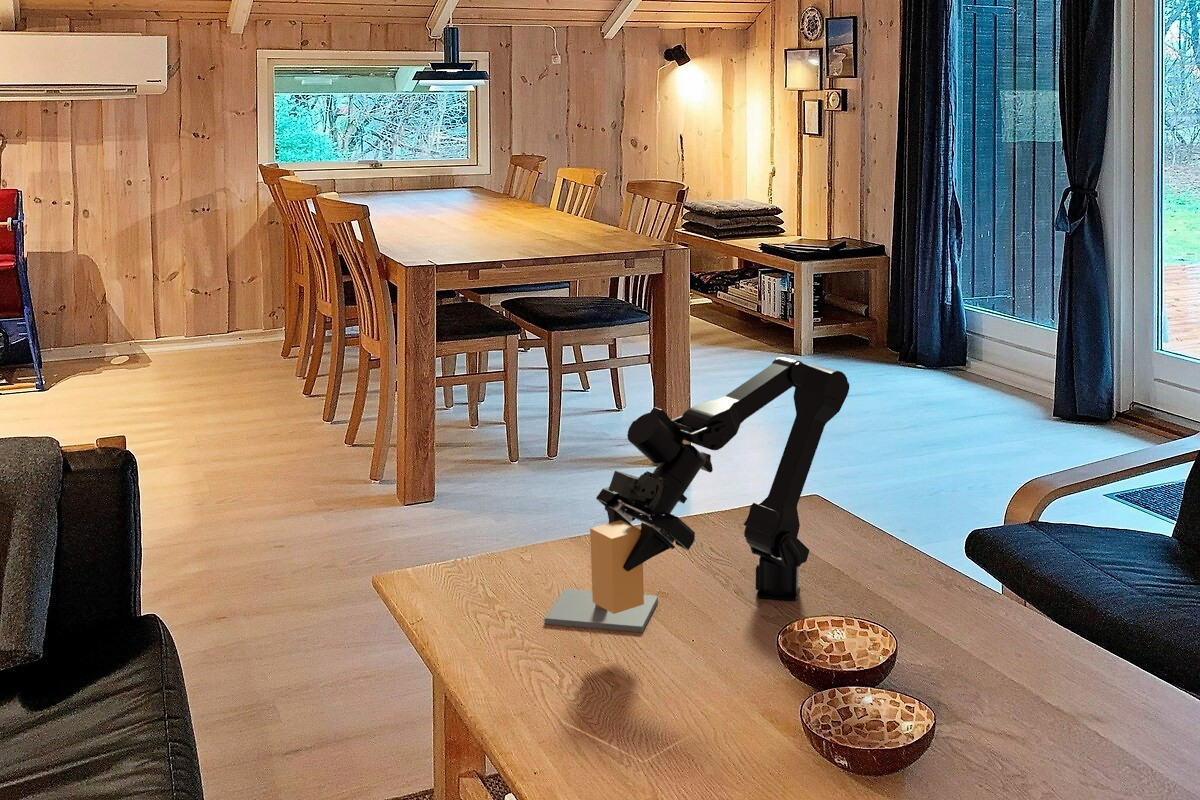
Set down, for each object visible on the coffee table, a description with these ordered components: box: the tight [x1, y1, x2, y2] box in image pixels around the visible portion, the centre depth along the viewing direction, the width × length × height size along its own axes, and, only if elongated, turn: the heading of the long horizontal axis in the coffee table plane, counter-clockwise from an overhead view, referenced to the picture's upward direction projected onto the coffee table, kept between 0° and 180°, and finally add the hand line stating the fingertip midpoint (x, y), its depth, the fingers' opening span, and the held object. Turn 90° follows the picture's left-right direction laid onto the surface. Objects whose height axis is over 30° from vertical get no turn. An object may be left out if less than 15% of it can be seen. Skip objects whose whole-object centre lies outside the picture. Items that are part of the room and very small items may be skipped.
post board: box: [543, 588, 659, 633], centre depth 210 cm, size 16×12×4 cm
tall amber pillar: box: [589, 520, 645, 614], centre depth 195 cm, size 6×6×12 cm
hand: (613, 563), depth 195 cm, fingers closed on tall amber pillar, 6 cm apart
